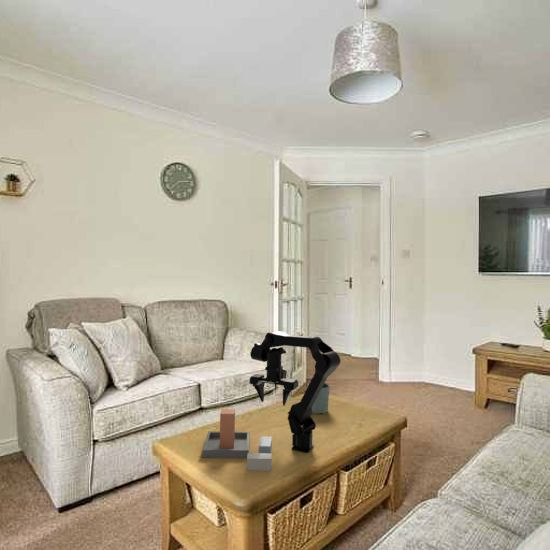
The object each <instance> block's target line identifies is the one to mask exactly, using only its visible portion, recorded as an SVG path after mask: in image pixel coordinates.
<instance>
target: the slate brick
mask: <svg viewBox="0 0 550 550" xmlns="http://www.w3.org/2000/svg"><path fill="white" fill-rule="evenodd" d="M272 449H273V437H272V436H261V437H260V439H259V444H258V453H272Z"/></svg>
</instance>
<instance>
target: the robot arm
mask: <svg viewBox="0 0 550 550" xmlns="http://www.w3.org/2000/svg"><path fill="white" fill-rule="evenodd" d="M284 346H285V347H286V346H287V347H295V348H296V347H298V348H307V349H308V350H309V351H310V354H311V357H312V359H313V360H314V362H315V364H314V373H313V376H312V378H311V380H310V381H309V383H310V384H309V383H308V384H309V386H308V385H307V388H306V389H305V391H304V393H303V396H302V397H301V400H300V401H298V402H296V403H293V404H292V405H291V407H290V409H289V411H288V412H287V415H288V416H287V421H288V425H289V428H290V432H291V434H292V436H291V437H292V439H291V440H292V444H291V445H292V447H291V450H293V451H298V452H302V453H303V452H304V453H309V452H310V451H311V450H312V449H313V448H314V443H313V430H315V429H316V427H317V424H316V422H315V421H314V419H313V417H312V415H313V413H312V406H313V404H314V402H315V400H316V398H317V396H318V395H319V393H320V391H321V389H322V387H323V385H324V383H326V382H327V379H328V378H329V376H331V375H332V374H333V373H334V372H335V371H336V370H337V368H338V367H339V366H340V364H341V358H340V355H339V354H338V353H337V352H336V351H335V350H333V348H332V346H329V344H327V343H326V342H324V340H322V338H320V337H319V336H309V335H307V336H306V335H293V334H288V333H287V332H284V331H281V330H277V331H271V332H266V334H265V336H264V339H263V340H262V342H261V343H260V342H256V343H254V344H253V347H252V348H251V350H250V353H249V355H250V358H251V359H252V360H254V361H258V362H263V363H265V362H266V366H265V367H264V368H265V371H266V376H265V375H264V374H261V373H255V374H252V375H251V376H250V377H249V382H248V383H249V385H251V386H252V387H254V389H255V390H256V393H257V395H258V397H259V399H260V402H262V403H264V400H265V384H269V385H277V386H283V389H282V406H286V403H287V401H288V398H289V396H290V393H291V392H292V391H295V390H296V389H297V388H299V380H297V379H295V378H287V374H288V370H286V369H284V368H283V365H282V358H283V357H282V355H284V354H287V351H286V349H284ZM285 379H286V380H285Z"/></svg>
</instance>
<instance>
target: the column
mask: <svg viewBox="0 0 550 550" xmlns="http://www.w3.org/2000/svg"><path fill="white" fill-rule="evenodd" d="M219 413H220V415H219V417H220V418H219V419H220V420H219V431H220V448H234V443H235V431H236V429H235V428H236V409H235V408H221V409H220V412H219Z"/></svg>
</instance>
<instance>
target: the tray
mask: <svg viewBox="0 0 550 550" xmlns="http://www.w3.org/2000/svg"><path fill="white" fill-rule="evenodd" d="M250 434H251V432H250V431H240V430H238V431H236V430H235V443H234V448H220V430H219V431H212V430H211V431H210V430H209V431H207V435H206V437H205V440H204V443H203V447H202V450H201V456H202V457H208V459H209V458H215V459H217V458H219V459H221V458H222V459H225V458H226V459H227V458H228V459H229V458H231V459H232V458H233V459H236V458H238V459H239V458H241V459H247V455H248V453H250V442H251V441H250V438H251V436H250ZM202 457H201V458H202Z"/></svg>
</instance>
